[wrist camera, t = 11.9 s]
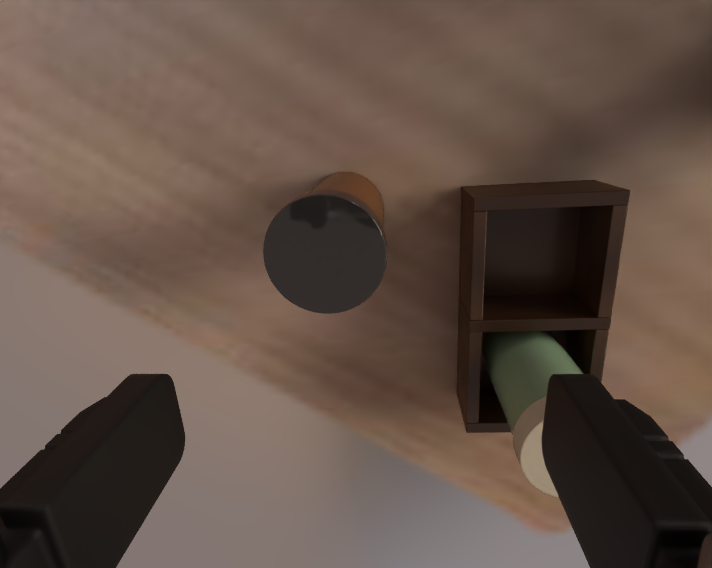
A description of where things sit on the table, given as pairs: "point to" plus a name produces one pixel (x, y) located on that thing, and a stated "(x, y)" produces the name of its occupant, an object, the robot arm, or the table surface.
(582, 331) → the jar stand
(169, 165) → the table surface
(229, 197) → the table surface
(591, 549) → the robot arm
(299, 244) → the amber jar
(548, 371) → the green jar
